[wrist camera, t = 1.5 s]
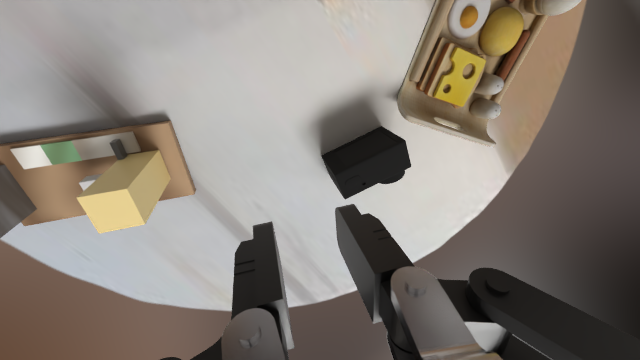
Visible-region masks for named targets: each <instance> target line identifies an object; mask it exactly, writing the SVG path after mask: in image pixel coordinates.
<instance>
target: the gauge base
mask: <svg viewBox="0 0 640 360" xmlns="http://www.w3.org/2000/svg"><path fill="white" fill-rule="evenodd" d="M115 139H120V140H121V142H122V145H123V147H124V149H125V151H126V153H127V155H129V154H136V153H142V152H148V151H155V150H159V151H160V153H161V156H162V158H163V161H164V163H165V166H166V168H167V170H168V173H169V175H170V178H171V179H170V181H169V183H168V184H167V186H166V188H165V190H164V191H163V193H162V195H161V197H160V199H159V200H158V201H161V200H167V199H172V198H177V197H183V196H188V195H193V194H195V191H196V189H195V186H194V183H193V181H192V178H191V175H190V172H189V170H188V167H187V164H186V161H185V159H184V156H183V153H182V150H181V148H180V145H179V142H178V139H177V137H176V134H175V131H174V128H173V126H172V123H171V121H163V122H156V123H149V124H142V125H134V126H127V127H120V128H113V129H105V130H98V131H91V132H84V133H76V134H69V135H62V136H55V137H47V138H40V139H33V140H26V141H18V142H11V143H4V144H0V238H1V237H2V236H3V235H5V234H6V233H7V232H9V231H10V230H11V229H12V228H14V227H15V226H16V225H17V224H19V223H20V222H22V224H23V225H24V226H28V225H34V224H39V223H44V222H50V221H55V220H60V219H65V218H71V217H76V216H81V215H87V214H86V212H85V211H84V209H83V208H82V206H81V204H80V203H79V201H78V200H77V197H78V196H79V195H80V194H81V193H82V192H83V189H82V187H81V186H80V184H79V182H80V181H82V180H83V179H84V178H85V177H86V176H92V175H98V174H103V173H104V172H105V171H106V170H108V169H109V168H110V167H111V166H112V165H113V164H114V163H115V162H116V161H118V159H117V157H116V155H115V153H114V151H113V149H112V147H111V145H110V142H111V141H113V140H115Z"/></svg>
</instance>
